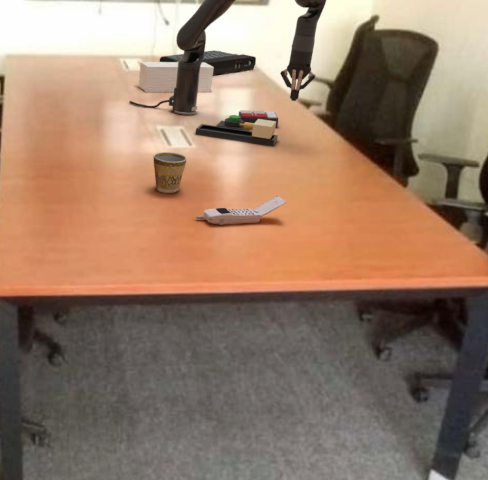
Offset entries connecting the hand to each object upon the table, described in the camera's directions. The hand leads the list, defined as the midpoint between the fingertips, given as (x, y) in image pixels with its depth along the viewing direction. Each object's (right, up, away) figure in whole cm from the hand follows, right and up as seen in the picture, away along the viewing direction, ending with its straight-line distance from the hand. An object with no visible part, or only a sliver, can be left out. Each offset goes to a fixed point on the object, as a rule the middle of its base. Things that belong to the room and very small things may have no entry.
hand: (293, 100), depth 277 cm
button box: (-19, -1, +25) cm, 31 cm away
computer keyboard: (-18, +66, +125) cm, 142 cm away
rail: (-19, -9, +14) cm, 25 cm away
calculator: (-7, +4, +34) cm, 35 cm away
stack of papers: (-38, +36, +78) cm, 94 cm away
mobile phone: (-28, -58, -60) cm, 89 cm away
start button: (-18, +1, +23) cm, 30 cm away
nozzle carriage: (-12, -10, +11) cm, 19 cm away
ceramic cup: (-47, -44, -41) cm, 76 cm away
